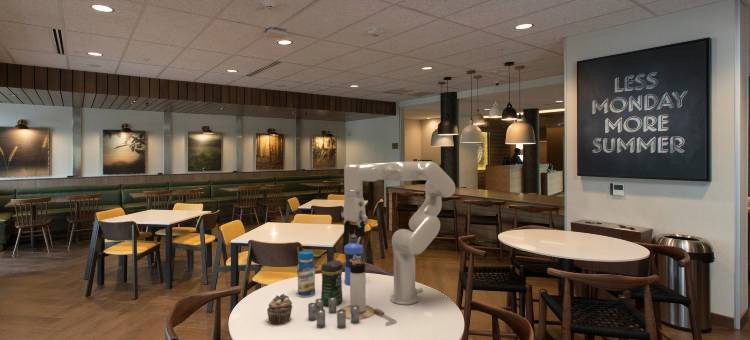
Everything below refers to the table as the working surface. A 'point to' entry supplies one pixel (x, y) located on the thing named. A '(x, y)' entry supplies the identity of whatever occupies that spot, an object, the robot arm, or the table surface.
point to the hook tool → (385, 316)
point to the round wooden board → (367, 314)
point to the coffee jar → (331, 281)
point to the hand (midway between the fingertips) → (354, 234)
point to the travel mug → (358, 287)
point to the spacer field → (319, 313)
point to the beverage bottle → (306, 274)
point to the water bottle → (352, 256)
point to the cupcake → (279, 310)
